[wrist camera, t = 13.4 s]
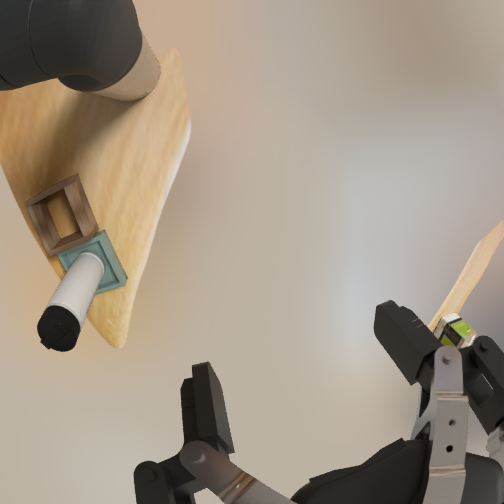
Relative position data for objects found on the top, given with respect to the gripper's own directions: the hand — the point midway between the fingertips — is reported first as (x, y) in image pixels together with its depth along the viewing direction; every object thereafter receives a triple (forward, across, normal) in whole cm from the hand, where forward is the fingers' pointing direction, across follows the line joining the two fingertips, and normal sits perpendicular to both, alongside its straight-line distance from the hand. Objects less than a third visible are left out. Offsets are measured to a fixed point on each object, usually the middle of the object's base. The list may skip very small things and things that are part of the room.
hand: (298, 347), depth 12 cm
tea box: (+38, -68, +72) cm, 106 cm away
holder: (+38, +28, -3) cm, 47 cm away
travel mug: (+37, +28, +8) cm, 47 cm away
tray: (+38, +27, +9) cm, 47 cm away
